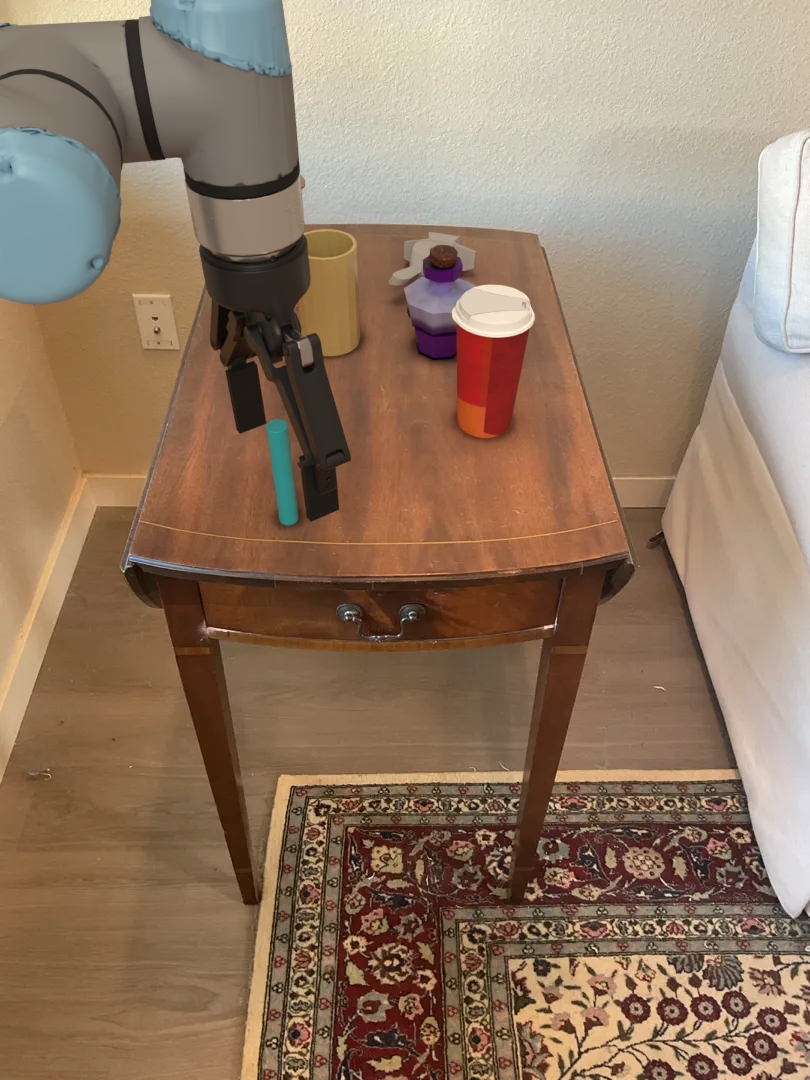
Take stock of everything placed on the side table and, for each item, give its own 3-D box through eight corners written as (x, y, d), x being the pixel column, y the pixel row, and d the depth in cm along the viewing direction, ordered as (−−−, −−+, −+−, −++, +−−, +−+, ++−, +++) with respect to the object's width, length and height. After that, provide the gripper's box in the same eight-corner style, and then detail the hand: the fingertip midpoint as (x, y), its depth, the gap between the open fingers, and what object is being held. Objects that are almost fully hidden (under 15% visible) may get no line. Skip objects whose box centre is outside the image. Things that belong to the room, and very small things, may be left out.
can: (319, 362, 95) (311, 265, 86) (292, 335, 99) (282, 238, 90) (370, 345, 98) (368, 248, 89) (341, 318, 102) (336, 223, 93)
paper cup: (520, 401, 90) (536, 283, 80) (520, 447, 85) (536, 327, 75) (448, 397, 91) (454, 279, 81) (443, 442, 86) (450, 321, 75)
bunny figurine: (484, 229, 109) (458, 271, 98) (480, 267, 113) (454, 312, 102) (414, 219, 111) (381, 259, 100) (413, 257, 114) (380, 300, 103)
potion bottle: (412, 322, 101) (414, 227, 93) (482, 332, 100) (490, 237, 91) (393, 361, 95) (393, 264, 87) (467, 373, 94) (475, 275, 85)
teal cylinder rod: (284, 528, 77) (271, 434, 69) (275, 516, 78) (262, 423, 70) (302, 520, 78) (291, 427, 70) (292, 509, 79) (281, 416, 71)
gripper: (394, 300, 52) (397, 536, 67) (226, 163, 66) (261, 383, 82) (286, 337, 49) (316, 574, 65) (136, 185, 64) (189, 408, 79)
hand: (285, 467), depth 73 cm, fingers open, 13 cm apart
